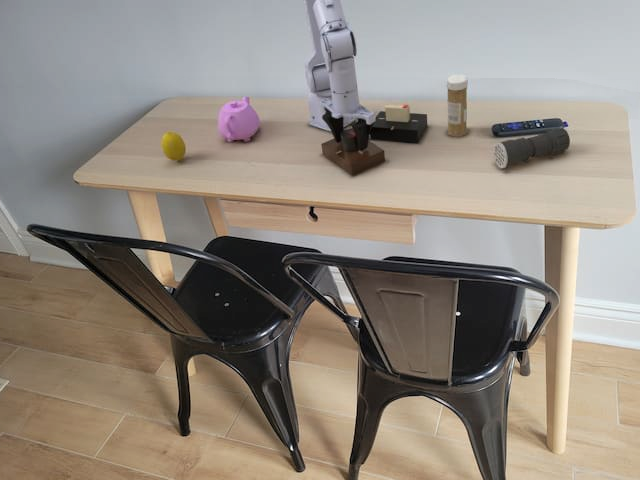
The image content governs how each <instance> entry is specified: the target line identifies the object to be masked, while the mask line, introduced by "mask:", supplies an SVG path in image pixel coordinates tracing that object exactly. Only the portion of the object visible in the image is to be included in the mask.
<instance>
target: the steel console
mask: <svg viewBox="0 0 640 480" xmlns="http://www.w3.org/2000/svg"><path fill="white" fill-rule="evenodd" d="M375 120H376V121H375V122H374V124H373V126H372V129H371V132H370V135H369V141H370V140H372V141H382V142H383V141H384V142H395V143H407V144H416V145H417V144H419V143H420V141H421V140H422V138H423V136H424V134H425V133H426V131H427V130H428V126H429V125H428V114H427V113H416V112H415V113H414V112H410V120H409V122H396V121H386V112H385V110H380V111H379V112H378V114H377V115H375Z"/></svg>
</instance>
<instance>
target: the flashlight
mask: <svg viewBox="0 0 640 480" xmlns="http://www.w3.org/2000/svg"><path fill="white" fill-rule="evenodd" d="M570 143H571V140H570V135H569V132H568V131H567V130H566V129H565V128H560V127H557V128H553V129H549V130H548V131H547V132H544V133H540V134H538V135H534V136H531V137H527V138H525V137H519V138H516V139H507V140H503V141H499V142H496V143H495V144H494V145H493V157H494V158H493V159H494V162H495V164H496V165H497V167H498V168H499V169H505V168H509V167H512V166H516V165H518V164H521V163H524V162H528V161H529V160H530V159H532V158H537V157H540V156H547V155H556V154H561V153H564V152H565V151H566V150H568V149H569V147H570Z"/></svg>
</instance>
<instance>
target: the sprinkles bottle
mask: <svg viewBox="0 0 640 480" xmlns="http://www.w3.org/2000/svg"><path fill="white" fill-rule="evenodd" d="M468 81H469V80H468V77H467V76H466V75H464V74H453V75H450V76H448V77H447V78H446V88H447V134H448V135H449V136H450V137H453V138H454V137H455V138H456V137H458V138H459V137H463V136H464V135H466V134H467V132H468V129H467V127H468V126H467V124H468V123H467V122H468V121H467V119H468V101H467V97H468V96H467V94H468V93H467V89H468V85H469V84H468Z"/></svg>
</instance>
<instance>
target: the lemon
mask: <svg viewBox="0 0 640 480" xmlns="http://www.w3.org/2000/svg"><path fill="white" fill-rule="evenodd" d="M160 145H161V149H162V152H163V155H165V156H166V158H167V159H169V160H171V161H176V162H180V161H181V160H182V159H183V158H184V157H185V155H186V151H187V147H186V142H185V141H184V139H183V138H182V136H181V135H180V134H178V132H174V131H167V132H166V133H164V134H163V136H162V138H161V142H160Z"/></svg>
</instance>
